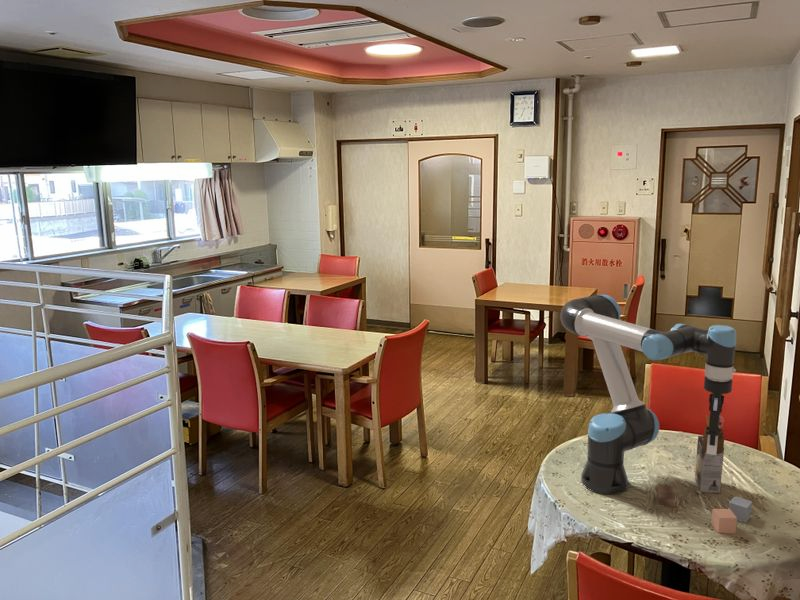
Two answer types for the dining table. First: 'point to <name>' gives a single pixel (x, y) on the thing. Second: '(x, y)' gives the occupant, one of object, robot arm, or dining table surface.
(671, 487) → the walnut block
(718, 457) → the coffee box
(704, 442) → the utensil holder
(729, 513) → the terracotta block
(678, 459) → the dining table surface
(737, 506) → the slate block
